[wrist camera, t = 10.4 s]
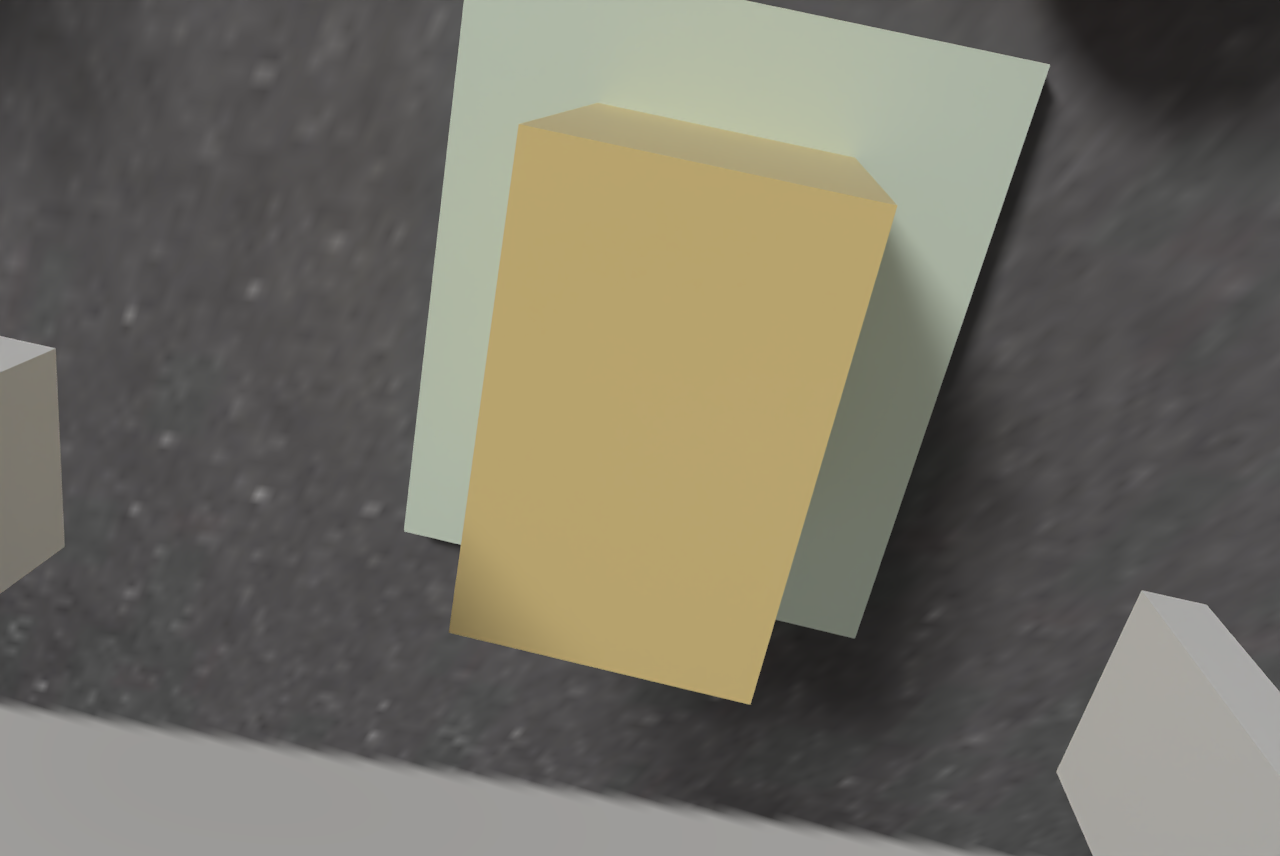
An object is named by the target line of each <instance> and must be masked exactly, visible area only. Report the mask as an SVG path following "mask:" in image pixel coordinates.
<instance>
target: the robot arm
mask: <svg viewBox="0 0 1280 856" xmlns="http://www.w3.org/2000/svg"><path fill="white" fill-rule="evenodd" d="M63 547H65V544H64V522H63V500H62V478H61V456H60V435H59V413H58V391H57V369H56V348H51V347H47V346H42V345H38V344H33V343H29V342H24V341H20V340H15V339H11V338H6V337H2V336H0V593H2V592H3V591H4V590H6V589H7V588H8V587H10V586H11V585H12V584H14V583H15V582H17V581H18V580H19V579H21V578H22V577H23V576H25V575H26V574H28V573H29V572H30V571H32V570H33V569H34V568H36V567H37V566H39V565H40V564H41V563H43V562H44V561H45V560H47V559H48V558H50V557H51V556H52V555H54V554H55V553H56V552H58V551H59V550H60V549H62V548H63ZM1056 772H1057V774H1058V777H1059V779H1060V781H1061V784H1062V786H1063V788H1064V790H1065V793H1066V795H1067V797H1068V800H1069V802H1070V804H1071V807H1072V809H1073V811H1074V813H1075V816H1076V818H1077V820H1078V823H1079V825H1080V827H1081V829H1082V832H1083V834H1084V836H1085V839H1086V841H1087V843H1088V846H1089V848H1090V850H1091V852H1092V855H1093V856H1280V692H1279V691H1278V689H1277V688H1276V687H1275V686H1274V685H1273V683H1272V682H1271V681H1270V680H1269V679H1268V677H1267V676H1266V675H1265V674H1264V673H1263V671H1262V670H1261V669H1260V668H1259V667H1258V666H1257V664H1256V663H1255V662H1254V661H1253V660H1252V658H1251V657H1250V656H1249V655H1248V654H1247V652H1246V651H1245V650H1244V649H1243V648H1242V646H1241V645H1240V644H1239V643H1238V642H1237V640H1236V639H1235V638H1234V637H1233V636H1232V635H1231V633H1230V632H1229V631H1228V630H1227V629H1226V627H1225V626H1224V625H1223V624H1222V623H1221V621H1220V620H1219V619H1218V618H1217V617H1216V615H1215V614H1214V613H1213V612H1212V611H1211V609H1210V608H1209V607H1208V606H1207V605H1205V604H1201V603H1196V602H1192V601H1187V600H1183V599H1178V598H1174V597H1169V596H1165V595H1160V594H1156V593H1151V592H1147V591H1141V593H1140V595H1139V597H1138V599H1137V601H1136V603H1135V606H1134V608H1133V610H1132V612H1131V614H1130V616H1129V618H1128V620H1127V623H1126V625H1125V627H1124V629H1123V631H1122V633H1121V635H1120V637H1119V640H1118V642H1117V644H1116V646H1115V648H1114V650H1113V652H1112V654H1111V657H1110V659H1109V661H1108V663H1107V665H1106V667H1105V669H1104V671H1103V674H1102V676H1101V678H1100V680H1099V682H1098V684H1097V686H1096V688H1095V691H1094V693H1093V695H1092V697H1091V699H1090V701H1089V703H1088V705H1087V708H1086V710H1085V712H1084V714H1083V716H1082V718H1081V720H1080V722H1079V725H1078V727H1077V729H1076V731H1075V733H1074V735H1073V737H1072V739H1071V742H1070V744H1069V746H1068V748H1067V750H1066V752H1065V754H1064V757H1063V759H1062V761H1061V763H1060V765H1059V767H1058V769H1057V771H1056Z"/></svg>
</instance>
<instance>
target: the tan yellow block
mask: <svg viewBox="0 0 1280 856" xmlns="http://www.w3.org/2000/svg"><path fill="white" fill-rule="evenodd" d="M897 206H898V205H897V204H896V203H895V202H894V201H893V200H892V199H891V198H890V196H889V195H888V194H887V193H886V192H885V191H884V190H883V189H882V187H881V186H880V185H879V184H878V183H877V182H876V181H875V179H874V178H873V177H872V176H871V175H870V174H869V173H868V172H867V170H866V169H865V168H864V167H863V166H862V165H861V164H860V163H859V161H858V160H857V159H856V158H855V157H850V156H845V155H840V154H836V153H831V152H826V151H822V150H817V149H812V148H808V147H803V146H798V145H794V144H789V143H784V142H780V141H775V140H770V139H765V138H761V137H756V136H751V135H747V134H742V133H737V132H733V131H728V130H723V129H719V128H714V127H709V126H705V125H700V124H695V123H690V122H686V121H681V120H676V119H672V118H667V117H662V116H658V115H653V114H648V113H644V112H639V111H634V110H630V109H625V108H620V107H615V106H611V105H606V104H601V103H595V104H591V105H587V106H584V107H580V108H576V109H573V110H569V111H565V112H561V113H558V114H554V115H550V116H547V117H543V118H539V119H535V120H532V121H528V122H524V123H521V124H519V125H518V132H517V140H516V147H515V154H514V162H513V169H512V176H511V183H510V191H509V198H508V205H507V213H506V220H505V227H504V234H503V242H502V249H501V256H500V264H499V271H498V278H497V285H496V293H495V300H494V307H493V315H492V322H491V329H490V337H489V344H488V351H487V358H486V366H485V373H484V380H483V388H482V395H481V402H480V409H479V417H478V424H477V431H476V439H475V446H474V453H473V460H472V468H471V475H470V482H469V490H468V497H467V504H466V512H465V519H464V526H463V533H462V541H461V548H460V555H459V563H458V570H457V577H456V584H455V592H454V599H453V606H452V614H451V621H450V628H449V633H453V634H457V635H461V636H466V637H470V638H474V639H478V640H482V641H486V642H491V643H495V644H499V645H503V646H507V647H511V648H516V649H520V650H524V651H528V652H532V653H536V654H541V655H545V656H549V657H553V658H557V659H562V660H566V661H570V662H574V663H578V664H582V665H587V666H591V667H595V668H599V669H603V670H607V671H612V672H616V673H620V674H624V675H628V676H632V677H637V678H641V679H645V680H649V681H653V682H657V683H662V684H666V685H670V686H674V687H678V688H683V689H687V690H691V691H695V692H699V693H703V694H708V695H712V696H716V697H720V698H724V699H728V700H733V701H737V702H741V703H745V704H749V705H750V704H751V701H752V698H753V694H754V691H755V688H756V684H757V681H758V677H759V674H760V671H761V667H762V664H763V660H764V657H765V654H766V650H767V647H768V643H769V640H770V637H771V633H772V630H773V626H774V623H775V620H776V616H777V613H778V609H779V606H780V603H781V599H782V596H783V593H784V589H785V586H786V582H787V579H788V576H789V572H790V569H791V565H792V562H793V559H794V555H795V552H796V548H797V545H798V542H799V538H800V535H801V531H802V528H803V525H804V521H805V518H806V514H807V511H808V508H809V504H810V501H811V498H812V494H813V491H814V487H815V484H816V481H817V477H818V474H819V470H820V467H821V464H822V460H823V457H824V453H825V450H826V447H827V443H828V440H829V436H830V433H831V430H832V426H833V423H834V419H835V416H836V413H837V409H838V406H839V403H840V399H841V396H842V392H843V389H844V386H845V382H846V379H847V375H848V372H849V369H850V365H851V362H852V358H853V355H854V352H855V348H856V345H857V341H858V338H859V335H860V331H861V328H862V324H863V321H864V318H865V314H866V311H867V308H868V304H869V301H870V297H871V294H872V291H873V287H874V284H875V280H876V277H877V274H878V270H879V267H880V263H881V260H882V257H883V253H884V250H885V246H886V243H887V240H888V236H889V233H890V229H891V226H892V223H893V219H894V216H895V213H896V209H897Z"/></svg>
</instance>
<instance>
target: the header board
mask: <svg viewBox="0 0 1280 856" xmlns="http://www.w3.org/2000/svg"><path fill="white" fill-rule="evenodd" d="M1049 67H1050V64H1045V63H1040V62H1036V61H1031V60H1026V59H1021V58H1017V57H1012V56H1007V55H1002V54H998V53H993V52H988V51H983V50H979V49H974V48H969V47H964V46H960V45H955V44H950V43H945V42H941V41H936V40H931V39H926V38H922V37H917V36H912V35H907V34H903V33H898V32H893V31H888V30H884V29H879V28H874V27H869V26H865V25H860V24H855V23H850V22H846V21H841V20H836V19H831V18H827V17H822V16H817V15H812V14H808V13H803V12H798V11H793V10H789V9H784V8H779V7H774V6H770V5H765V4H760V3H755V2H751V1H746V0H464V5H463V14H462V23H461V32H460V41H459V50H458V58H457V67H456V76H455V85H454V94H453V103H452V111H451V120H450V129H449V138H448V147H447V156H446V164H445V173H444V182H443V191H442V200H441V209H440V217H439V226H438V235H437V244H436V253H435V261H434V270H433V279H432V288H431V297H430V306H429V314H428V323H427V332H426V341H425V350H424V359H423V367H422V376H421V385H420V394H419V403H418V412H417V420H416V429H415V438H414V447H413V456H412V465H411V473H410V482H409V491H408V500H407V509H406V518H405V526H404V531H405V532H409V533H413V534H418V535H422V536H426V537H430V538H434V539H439V540H443V541H447V542H451V543H455V544H460V545H461V541H462V533H463V526H464V519H465V512H466V504H467V497H468V490H469V482H470V475H471V468H472V460H473V453H474V446H475V439H476V431H477V424H478V417H479V409H480V402H481V395H482V388H483V380H484V373H485V366H486V358H487V351H488V344H489V337H490V329H491V322H492V315H493V307H494V300H495V293H496V285H497V278H498V271H499V264H500V256H501V249H502V242H503V234H504V227H505V220H506V213H507V205H508V198H509V191H510V183H511V176H512V169H513V162H514V154H515V147H516V140H517V132H518V125H519V124H521V123H524V122H528V121H532V120H535V119H539V118H543V117H547V116H550V115H554V114H558V113H561V112H565V111H569V110H573V109H576V108H580V107H584V106H587V105H591V104H595V103H601V104H606V105H611V106H615V107H620V108H625V109H630V110H634V111H639V112H644V113H648V114H653V115H658V116H662V117H667V118H672V119H676V120H681V121H686V122H690V123H695V124H700V125H705V126H709V127H714V128H719V129H723V130H728V131H733V132H737V133H742V134H747V135H751V136H756V137H761V138H765V139H770V140H775V141H780V142H784V143H789V144H794V145H798V146H803V147H808V148H812V149H817V150H822V151H826V152H831V153H836V154H840V155H845V156H850V157H855V158H856V159H857V160H858V161H859V163H860V164H861V165H862V166H863V167H864V168H865V169H866V170H867V172H868V173H869V174H870V175H871V176H872V177H873V178H874V179H875V181H876V182H877V183H878V184H879V185H880V186H881V187H882V189H883V190H884V191H885V192H886V193H887V194H888V195H889V196H890V198H891V199H892V200H893V201H894V202H895V203H896V204H897V205H898V206H897V209H896V213H895V216H894V219H893V223H892V226H891V229H890V233H889V236H888V240H887V243H886V246H885V250H884V253H883V257H882V260H881V263H880V267H879V270H878V274H877V277H876V280H875V284H874V287H873V291H872V294H871V297H870V301H869V304H868V308H867V311H866V314H865V318H864V321H863V324H862V328H861V331H860V335H859V338H858V341H857V345H856V348H855V352H854V355H853V358H852V362H851V365H850V369H849V372H848V375H847V379H846V382H845V386H844V389H843V392H842V396H841V399H840V403H839V406H838V409H837V413H836V416H835V419H834V423H833V426H832V430H831V433H830V436H829V440H828V443H827V447H826V450H825V453H824V457H823V460H822V464H821V467H820V470H819V474H818V477H817V481H816V484H815V487H814V491H813V494H812V498H811V501H810V504H809V508H808V511H807V514H806V518H805V521H804V525H803V528H802V531H801V535H800V538H799V542H798V545H797V548H796V552H795V555H794V559H793V562H792V565H791V569H790V572H789V576H788V579H787V582H786V586H785V589H784V593H783V596H782V599H781V603H780V606H779V609H778V613H777V616H776V620H779V621H783V622H787V623H791V624H795V625H800V626H804V627H808V628H812V629H816V630H821V631H825V632H829V633H833V634H837V635H842V636H846V637H850V638H854V639H855V637H856V634H857V631H858V628H859V625H860V622H861V619H862V617H863V614H864V611H865V608H866V605H867V602H868V599H869V596H870V593H871V590H872V587H873V584H874V581H875V578H876V575H877V572H878V570H879V567H880V564H881V561H882V558H883V555H884V552H885V549H886V546H887V543H888V540H889V537H890V534H891V531H892V528H893V525H894V523H895V520H896V517H897V514H898V511H899V508H900V505H901V502H902V499H903V496H904V493H905V490H906V487H907V484H908V481H909V478H910V476H911V473H912V470H913V467H914V464H915V461H916V458H917V455H918V452H919V449H920V446H921V443H922V440H923V437H924V434H925V431H926V429H927V426H928V423H929V420H930V417H931V414H932V411H933V408H934V405H935V402H936V399H937V396H938V393H939V390H940V387H941V384H942V381H943V379H944V376H945V373H946V370H947V367H948V364H949V361H950V358H951V355H952V352H953V349H954V346H955V343H956V340H957V337H958V334H959V332H960V329H961V326H962V323H963V320H964V317H965V314H966V311H967V308H968V305H969V302H970V299H971V296H972V293H973V290H974V287H975V285H976V282H977V279H978V276H979V273H980V270H981V267H982V264H983V261H984V258H985V255H986V252H987V249H988V246H989V243H990V240H991V238H992V235H993V232H994V229H995V226H996V223H997V220H998V217H999V214H1000V211H1001V208H1002V205H1003V202H1004V199H1005V196H1006V193H1007V191H1008V188H1009V185H1010V182H1011V179H1012V176H1013V173H1014V170H1015V167H1016V164H1017V161H1018V158H1019V155H1020V152H1021V149H1022V146H1023V143H1024V141H1025V138H1026V135H1027V132H1028V129H1029V126H1030V123H1031V120H1032V117H1033V114H1034V111H1035V108H1036V105H1037V102H1038V99H1039V96H1040V94H1041V91H1042V88H1043V85H1044V82H1045V79H1046V76H1047V73H1048V70H1049Z"/></svg>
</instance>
